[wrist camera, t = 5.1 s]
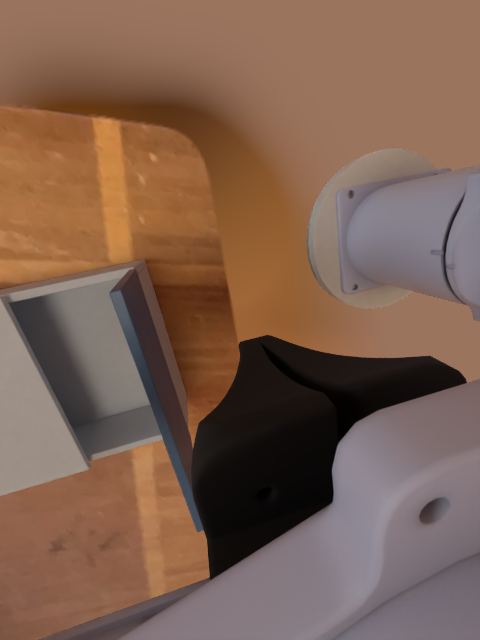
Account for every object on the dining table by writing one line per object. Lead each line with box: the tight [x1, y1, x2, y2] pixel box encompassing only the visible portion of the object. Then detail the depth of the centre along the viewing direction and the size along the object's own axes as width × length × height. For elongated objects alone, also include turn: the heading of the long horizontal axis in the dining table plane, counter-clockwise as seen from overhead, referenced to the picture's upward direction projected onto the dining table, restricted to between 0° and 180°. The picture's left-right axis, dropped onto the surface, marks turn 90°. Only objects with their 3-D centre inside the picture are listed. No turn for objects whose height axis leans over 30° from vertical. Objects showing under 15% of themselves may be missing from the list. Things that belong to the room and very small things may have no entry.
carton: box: [0, 259, 188, 496], centre depth 18 cm, size 13×12×5 cm
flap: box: [109, 269, 204, 532], centre depth 14 cm, size 6×12×1 cm
